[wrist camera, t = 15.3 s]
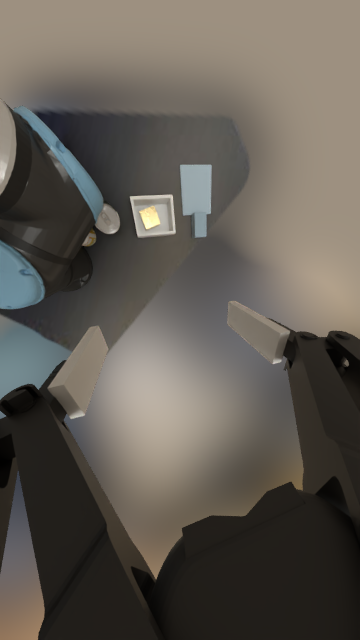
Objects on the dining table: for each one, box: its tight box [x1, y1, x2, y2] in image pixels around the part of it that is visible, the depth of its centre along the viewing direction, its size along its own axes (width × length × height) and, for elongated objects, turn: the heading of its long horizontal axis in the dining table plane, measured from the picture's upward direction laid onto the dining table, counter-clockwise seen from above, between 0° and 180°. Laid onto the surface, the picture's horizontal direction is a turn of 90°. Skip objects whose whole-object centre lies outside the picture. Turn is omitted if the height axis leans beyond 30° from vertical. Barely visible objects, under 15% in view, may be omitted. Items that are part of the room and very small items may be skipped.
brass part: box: [139, 206, 160, 231], centre depth 38 cm, size 4×4×4 cm
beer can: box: [95, 200, 120, 234], centre depth 33 cm, size 5×5×12 cm
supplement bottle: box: [82, 229, 96, 246], centre depth 35 cm, size 5×5×10 cm
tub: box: [130, 195, 176, 238], centre depth 38 cm, size 10×8×6 cm
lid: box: [180, 165, 211, 238], centre depth 40 cm, size 17×9×4 cm, turn 3°
